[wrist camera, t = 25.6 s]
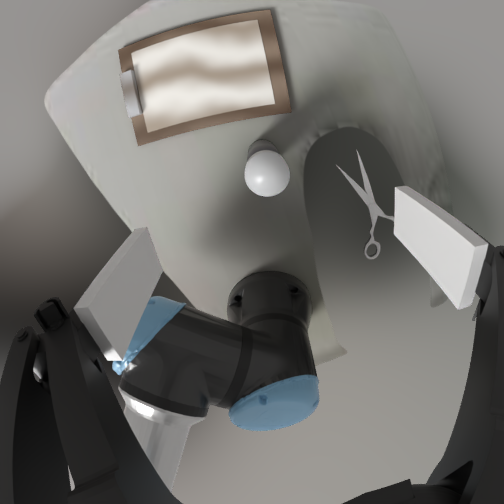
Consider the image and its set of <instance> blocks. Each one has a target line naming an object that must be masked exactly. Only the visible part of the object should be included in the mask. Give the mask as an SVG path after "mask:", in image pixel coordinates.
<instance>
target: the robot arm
mask: <svg viewBox="0 0 504 504" xmlns="http://www.w3.org/2000/svg"><path fill="white" fill-rule="evenodd" d="M394 235H395V236H396V237H397V238H398V239H399V240H400V241H401V242H402V243H403V245H404V246H405V247H406V248H407V249H408V250H409V251H410V252H411V253H412V255H413V256H414V257H415V258H416V259H417V260H418V261H419V263H420V264H421V265H422V266H423V267H424V268H425V269H426V271H427V272H428V273H429V274H430V275H431V277H432V278H433V279H434V280H435V281H436V283H437V284H438V285H439V286H440V288H441V289H442V290H443V291H444V293H445V294H446V295H447V296H448V298H449V299H450V300H451V301H452V303H453V304H454V305H455V307H456V308H457V309H458V310H459V309H462V308H465V307H467V306H470V305H471V304H472V301H473V298H474V295H475V292H476V294H477V295H478V296H479V297H480V300H479V303H478V306H477V308H476V311H475V314H474V316H473V319H472V320H473V321H474V320H475V318H476V317H477V318H476V328H475V337H474V344H473V351H472V357H471V362H470V368H469V373H468V378H467V382H466V387H465V391H464V395H463V399H462V403H461V406H460V410H459V413H458V416H457V420H456V423H455V426H454V429H453V432H452V435H451V438H450V440H449V443H448V446H447V448H446V451H445V453H444V456H443V458H442V459H441V461H440V462H439V463H438V465H437V466H436V468H435V469H434V471H433V473H432V474H431V476H430V477H429V479H428V481H427V483H426V484H413V485H411V482H410V479H408V480H405V481H403V482H399V483H397V484H394V485H391V486H387V487H384V488H381V489H378V490H374V491H371V492H367V493H364V494H362V495H360V496H358V497H356V498H354V499H352V500H349V501H347V502H345V503H343V504H504V246H497V247H494V246H493V245H491V244H490V243H489V242H488V241H486V240H485V239H484V238H483V237H482V236H480V235H478V233H476V232H475V231H473V230H472V229H471V228H470V227H469V226H467V225H466V224H464V223H461V222H460V221H459V220H457V219H456V218H455V217H453V216H452V215H451V214H449V213H448V212H446V211H445V210H443V209H442V208H441V207H439V206H438V205H436V204H435V203H433V202H432V201H430V200H429V199H427V198H426V197H424V196H422V195H421V194H419V193H418V192H416V191H415V190H413V189H411V188H410V187H408V186H399V187H395V217H394ZM162 272H163V269H162V266H161V264H160V261H159V259H158V256H157V253H156V250H155V248H154V245H153V242H152V239H151V237H150V234H149V231H148V228H147V227H144V228H139V229H135V230H134V231H133V232H132V233H131V235H130V236H129V237H128V238H127V239H126V241H125V242H124V243H123V244H122V245H121V247H120V248H119V249H118V250H117V251H116V253H115V254H114V255H113V256H112V258H111V259H110V260H109V261H108V263H107V264H106V265H105V267H104V268H103V269H102V270H101V271H100V273H99V274H98V276H97V277H96V278H95V280H94V281H93V282H92V283H91V284H90V285H89V286H88V288H87V289H86V290H85V293H83V294H82V296H81V297H80V299H79V300H78V301H77V303H76V304H75V306H74V307H73V308H72V310H71V311H70V313H69V314H68V313H67V311H66V310H65V308H64V306H63V305H62V303H61V301H60V299H59V298H58V297H53V298H50V299H48V300H46V301H44V302H43V303H42V304H40V305H39V307H38V308H37V309H36V310H35V312H34V316H35V318H36V319H37V321H38V323H39V324H40V326H41V327H42V328H43V330H44V331H45V332H44V333H41V334H37V333H36V331H35V330H34V329H33V327H32V326H27V327H24V328H22V329H20V330H19V331H18V332H17V334H16V335H15V337H14V339H13V341H12V344H11V347H10V350H9V353H8V357H7V360H6V364H5V367H4V371H3V375H2V378H1V382H0V504H182V503H181V502H180V501H179V500H177V499H176V498H175V497H174V496H173V495H172V493H171V491H172V488H173V484H174V481H175V477H176V474H177V470H178V467H179V463H180V460H181V456H182V453H183V450H184V447H185V443H186V439H187V436H188V433H189V429H190V427H191V426H192V425H193V424H196V423H198V422H200V421H202V420H204V419H205V418H206V415H207V412H208V409H209V406H210V405H214V406H218V407H222V408H225V409H229V416H230V419H231V421H232V423H233V424H234V425H237V426H238V427H240V428H242V429H246V430H253V431H267V430H275V429H280V428H284V427H287V426H291V425H294V424H296V423H298V422H300V421H302V420H304V419H306V418H307V417H308V416H310V415H311V414H312V413H313V412H314V411H315V409H316V408H317V405H318V403H319V391H318V383H319V381H318V378H317V374H316V369H315V364H314V359H313V355H312V350H311V346H310V341H309V337H308V327H309V323H310V319H311V314H312V303H311V299H310V295H309V292H308V290H307V288H306V287H305V285H304V284H303V283H302V282H301V281H300V280H298V279H297V278H295V277H293V276H291V275H289V274H286V273H282V272H275V271H267V272H260V273H256V274H253V275H250V276H248V277H246V278H244V279H243V280H241V281H240V282H239V283H238V284H237V285H236V286H235V287H234V288H233V290H232V291H231V293H230V295H229V299H228V306H227V315H228V320H229V321H227V320H224V319H221V318H218V317H215V316H213V315H210V314H207V313H205V312H202V311H199V310H197V309H194V308H192V307H189V306H187V304H186V303H178V302H176V301H173V300H170V299H167V298H164V297H160V296H155V297H151V295H152V292H153V290H154V288H155V286H156V284H157V282H158V280H159V278H160V276H161V274H162ZM150 297H151V298H150ZM100 351H101V352H102V353H103V354H104V356H105V357H106V358H107V360H112V361H113V370H114V371H116V372H117V374H119V375H121V374H122V378H121V381H120V384H119V391H120V392H121V394H122V396H123V398H124V400H125V402H126V406H125V410H124V413H123V411H122V409H121V407H120V405H119V403H118V400H117V398H116V396H115V394H114V392H113V389H112V387H111V385H110V383H109V380H108V378H107V375H106V373H105V370H104V367H103V365H102V363H101V361H100V360H99V359H98V355H99V353H100ZM33 371H34V372H35V373H36V374H37V376H38V377H39V378H40V379H39V382H37V381H36V380H35V377H34V374H33ZM68 466H69V469H70V472H71V475H72V478H73V481H74V484H75V489H74V490H73V491H71V486H70V479H69V472H68Z"/></svg>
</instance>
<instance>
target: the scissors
mask: <svg viewBox="0 0 504 504" xmlns="http://www.w3.org/2000/svg"><path fill="white" fill-rule="evenodd" d="M357 154H358V152H357ZM358 158H359V163H360V167H361V172H362V177H363V181H364V187H365V191H364V190H363V189H362V188H361V187H360V186H359V185H358V184H357V183H356V182H355V181H354V180H353V179H351V178H350V177H349V176H348V175H347V174H346V173H345V172H344V171H343V170H342V169H341V168H339V167H338V168H339V169H340V170H341V172H342V173H343V174H344V175H345V177H346V178H347V180H348V181H349V182H350V183H351V185H352V186H353V187H354V189H355V190H356V192H357V193H358V194H359V196H360V197H361V198H362V199H363V201H364V202H365V204H366V205H367V206H368V210H369V214H370V219H371V227H370V229H369V233H370V237H369V239H368V241H367V242H366V243H365V246H364V254H365V256H366V257H367V258H368V259H375V258H376V257H377V256H378V255H379V253H380V243H379V242H378V241H376V240H374V236H373V231H374V227H375V224H376V221H377V217H378V216H381V217H385V218H388V219H391V220H392V221H393V222H394V217H393V216H392V215H385V214H384V213H383V211H382V210H381V209H380V208H379V207H378V205H377V204H376V203H375V200H374V196H373V193H372V189H371V186H370V183H369V180H368V177H367V174H366V172H365V169H364V166H363V163H362V161H361V158H360V156H359V154H358ZM371 244H375V245H376V252H375V254H373V255H367V253H366V251H367V248H368V246H369V245H371Z"/></svg>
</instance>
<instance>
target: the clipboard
mask: <svg viewBox="0 0 504 504" xmlns="http://www.w3.org/2000/svg"><path fill="white" fill-rule="evenodd" d="M118 52H119V58H120V64H121V70H122V74H120V80H121V85H122V90H123V95H124V100H125V104H126V109H127V113H128V118H132V123H133V127H134V131H135V135H136V139H137V143H138V146H141V145H144V144H147V143H150V142H153V141H157V140H160V139H163V138H167V137H171V136H174V135H178V134H182V133H185V132H189V131H193V130H197V129H202V128H206V127H210V126H215V125H219V124H224V123H229V122H234V121H239V120H245V119H250V118H256V117H262V116H269V115H276V114H283V113H291V106H290V100H289V95H288V89H287V84H286V79H285V74H284V69H283V64H282V59H281V55H280V50H279V45H278V41H277V36H276V32H275V28H274V24H273V20H272V15H271V11H270V10H263V11H255V12H248V13H241V14H235V15H230V16H224V17H219V18H215V19H210V20H206V21H202V22H198V23H194V24H190V25H187V26H183V27H180V28H176V29H173V30H170V31H167V32H164V33H161V34H158V35H155V36H152V37H149V38H147V39H144V40H141V41H139V42H136V43H134V44H131V45H129V46H126V47H124V48H122V49H119V50H118Z"/></svg>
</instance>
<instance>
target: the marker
mask: <svg viewBox="0 0 504 504" xmlns="http://www.w3.org/2000/svg"><path fill="white" fill-rule="evenodd" d="M289 179H290V170H289V167H288V165H287V163H286V162H285V160H284V159H283V157H282V156H281V155H280V154H279V152H278V151H277V149H276V148H275V146H274V145H273V144H272V143H271V142H270V141H267V140H258V141H255V142H254V143H253V144H252V145H251V146H250V148H249V151H248V158H247V163H246V167H245V181H246V184H247V186H248V187H249V188H250V189H251V190H252V191H253V192H254V193H256V194H258V195H260V196H266V197H268V196H274V195H277V194H279V193H280V192H282V191H283V190H284V189H285V188H286V186H287V185H288V182H289Z"/></svg>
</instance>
